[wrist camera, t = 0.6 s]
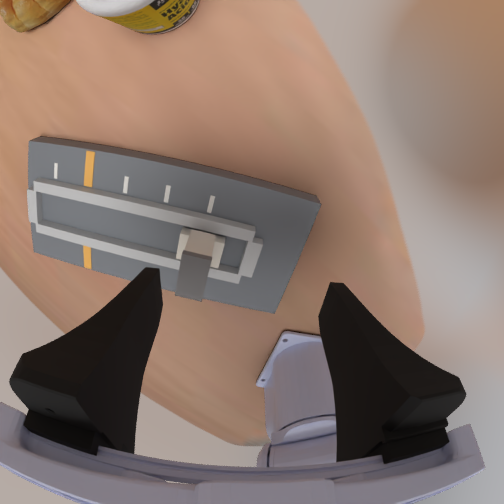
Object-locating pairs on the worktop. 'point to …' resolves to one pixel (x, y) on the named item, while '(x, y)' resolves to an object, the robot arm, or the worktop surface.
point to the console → (164, 218)
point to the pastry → (29, 12)
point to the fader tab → (196, 261)
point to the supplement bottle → (143, 13)
